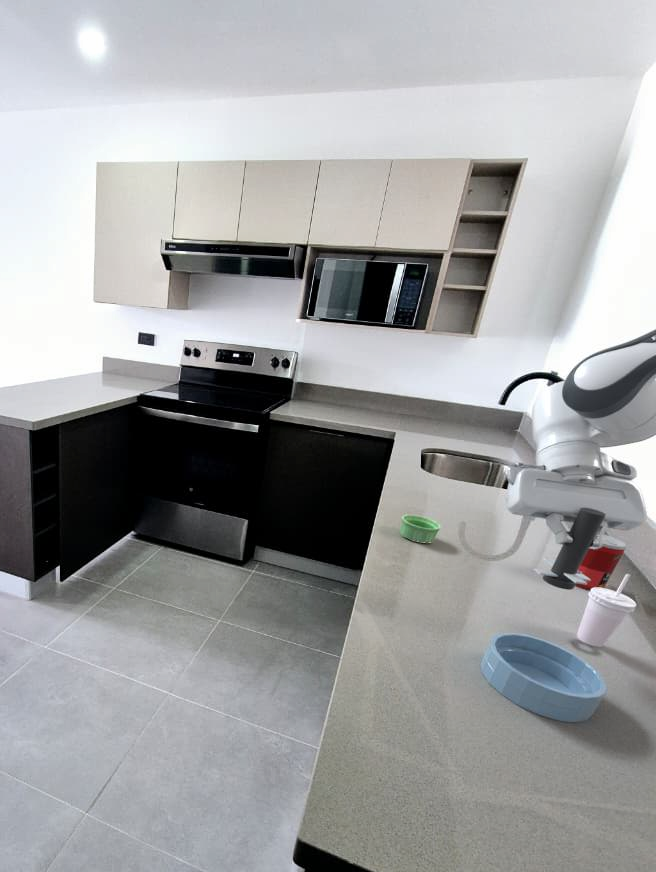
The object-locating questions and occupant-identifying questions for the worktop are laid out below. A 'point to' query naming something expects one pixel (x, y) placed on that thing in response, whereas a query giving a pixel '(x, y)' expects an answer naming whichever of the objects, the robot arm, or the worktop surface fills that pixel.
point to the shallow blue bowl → (542, 677)
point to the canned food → (601, 562)
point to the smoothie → (604, 614)
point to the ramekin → (419, 528)
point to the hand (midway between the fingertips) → (579, 545)
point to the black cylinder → (573, 551)
